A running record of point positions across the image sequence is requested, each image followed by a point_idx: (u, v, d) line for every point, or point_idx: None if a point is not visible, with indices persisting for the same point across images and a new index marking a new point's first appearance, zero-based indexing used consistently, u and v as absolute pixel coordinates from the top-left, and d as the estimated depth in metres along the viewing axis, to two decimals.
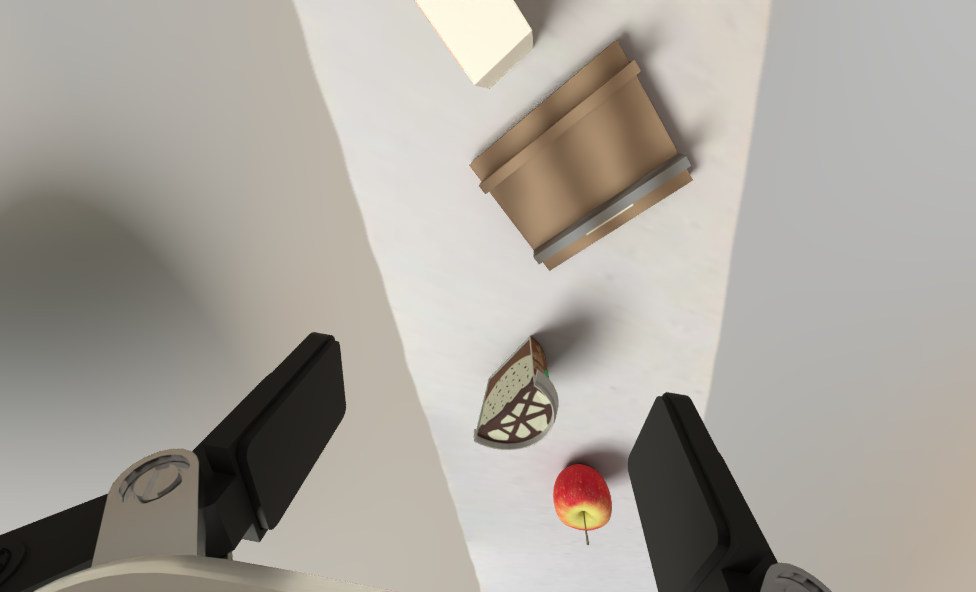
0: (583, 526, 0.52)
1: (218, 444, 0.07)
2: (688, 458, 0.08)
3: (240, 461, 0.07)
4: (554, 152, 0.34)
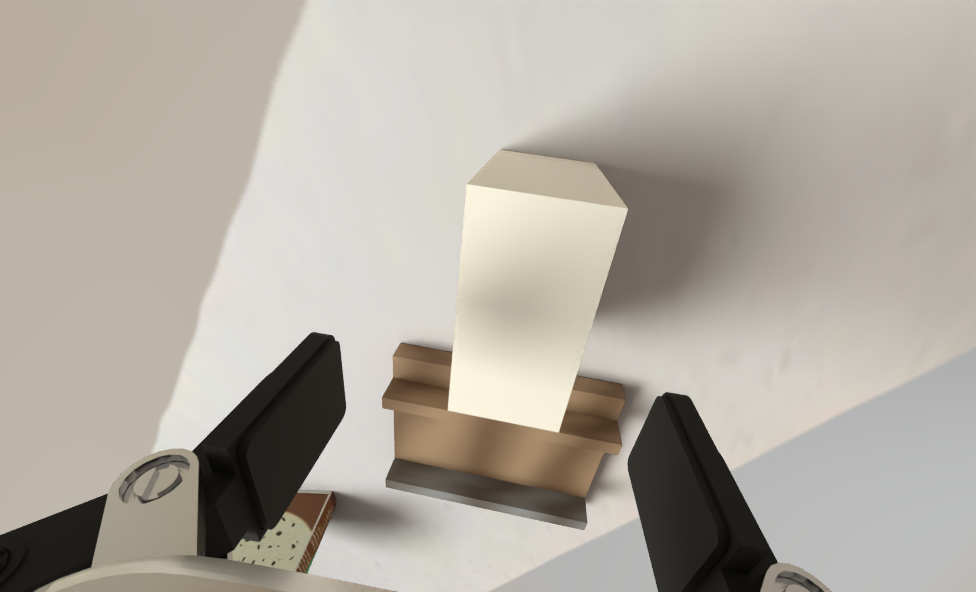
0: None
1: (218, 444, 0.07)
2: (688, 458, 0.08)
3: (240, 461, 0.07)
4: None
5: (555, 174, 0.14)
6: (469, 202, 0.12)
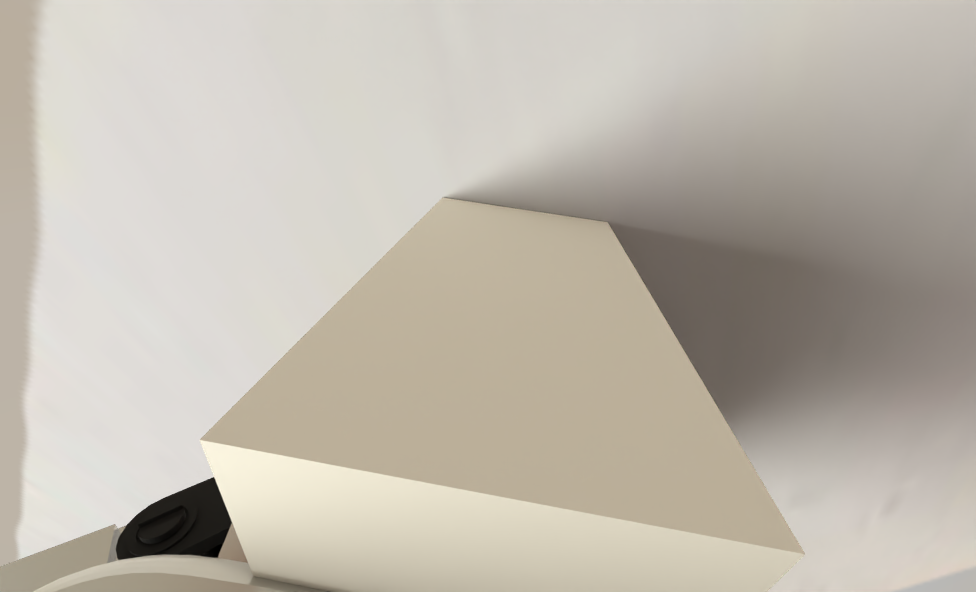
0: None
1: None
2: None
3: None
4: None
5: (535, 285, 0.06)
6: (227, 485, 0.03)
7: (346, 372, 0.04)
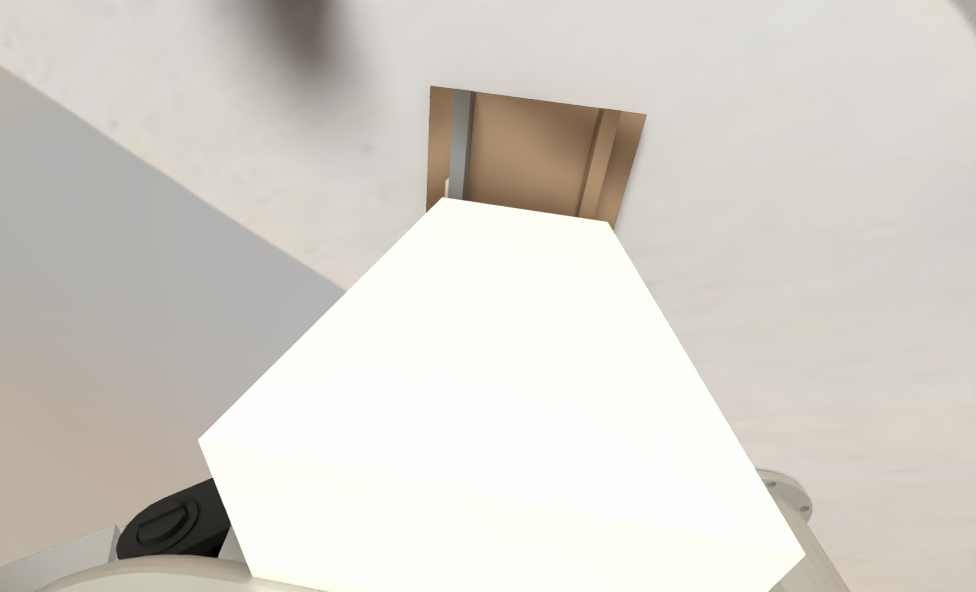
0: None
1: None
2: None
3: None
4: None
5: (534, 285, 0.06)
6: (226, 486, 0.03)
7: (345, 372, 0.04)
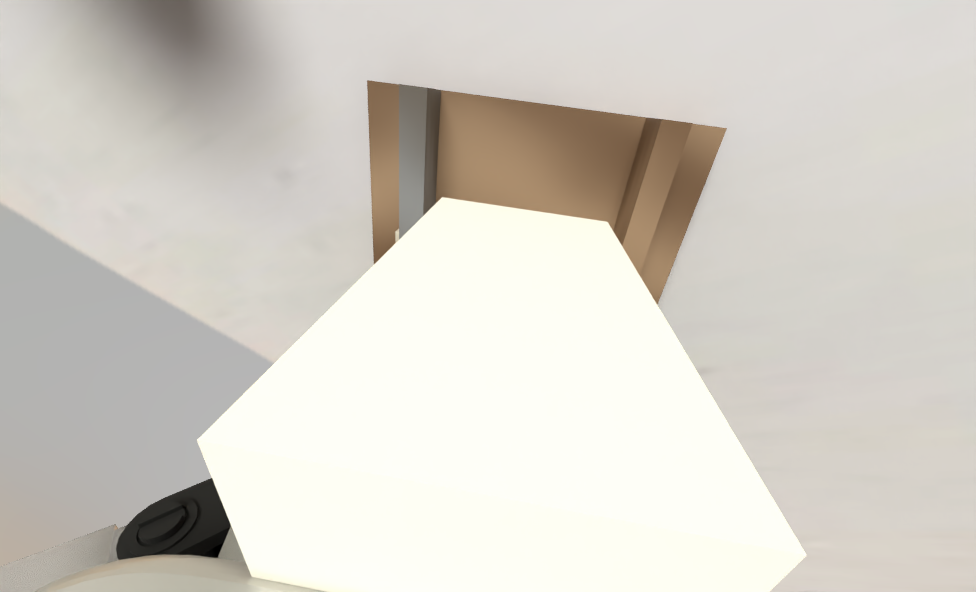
0: None
1: None
2: None
3: None
4: None
5: (534, 285, 0.06)
6: (225, 486, 0.03)
7: (345, 372, 0.04)
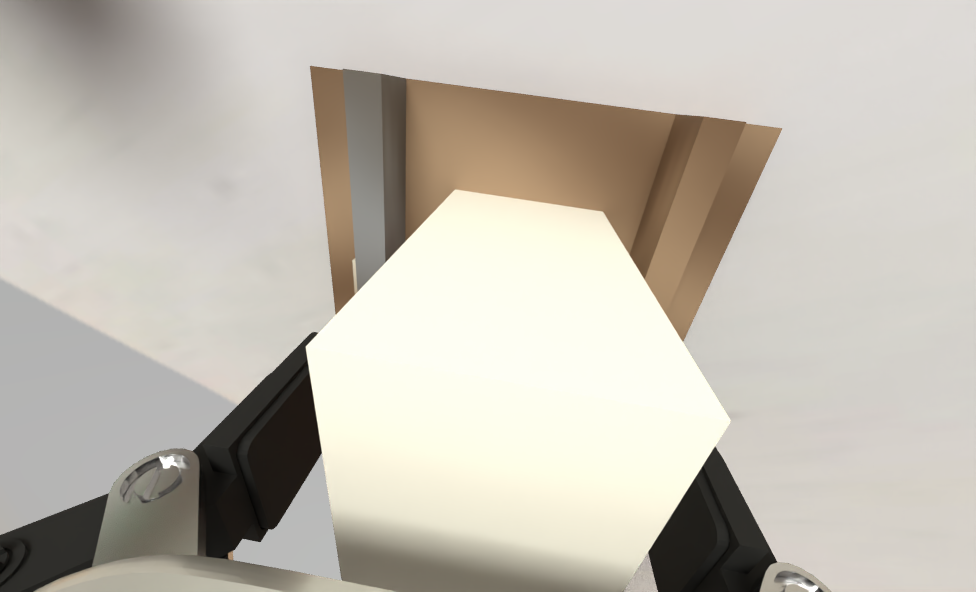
0: None
1: (219, 444, 0.07)
2: None
3: (241, 461, 0.07)
4: None
5: (539, 258, 0.08)
6: (320, 384, 0.05)
7: (398, 311, 0.05)
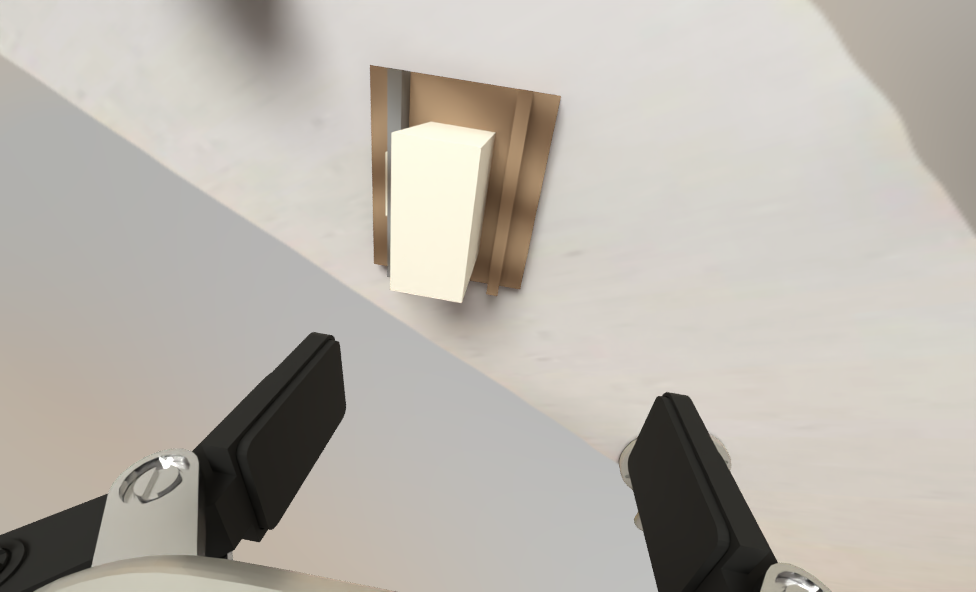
0: None
1: (218, 444, 0.07)
2: (688, 458, 0.08)
3: (240, 461, 0.07)
4: (489, 187, 0.29)
5: (455, 134, 0.23)
6: (393, 143, 0.20)
7: (410, 133, 0.21)
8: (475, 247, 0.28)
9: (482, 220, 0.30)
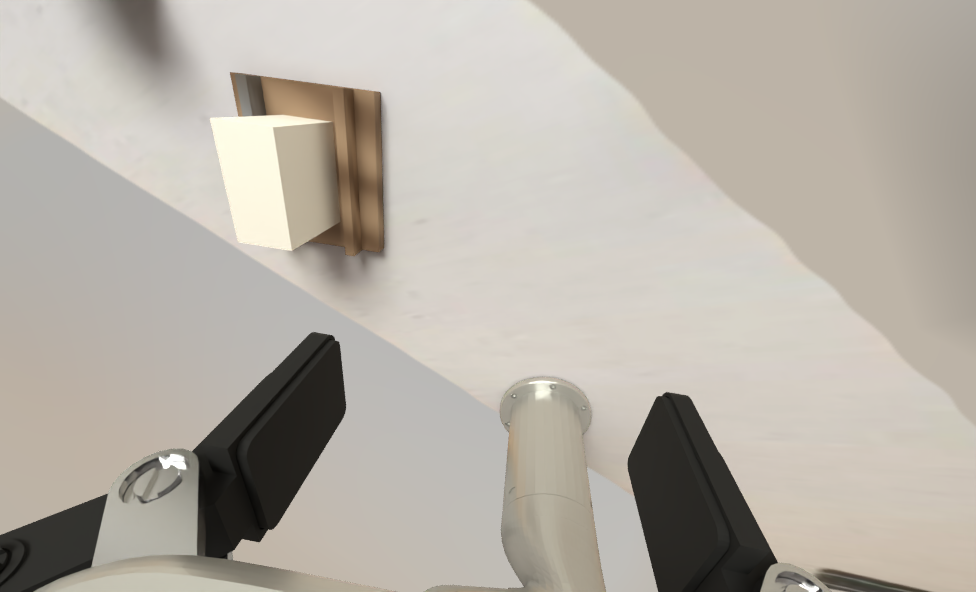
0: None
1: (218, 444, 0.07)
2: (688, 458, 0.08)
3: (240, 461, 0.07)
4: (337, 166, 0.37)
5: (278, 121, 0.31)
6: (212, 126, 0.28)
7: (230, 119, 0.28)
8: (319, 212, 0.35)
9: (334, 193, 0.37)
